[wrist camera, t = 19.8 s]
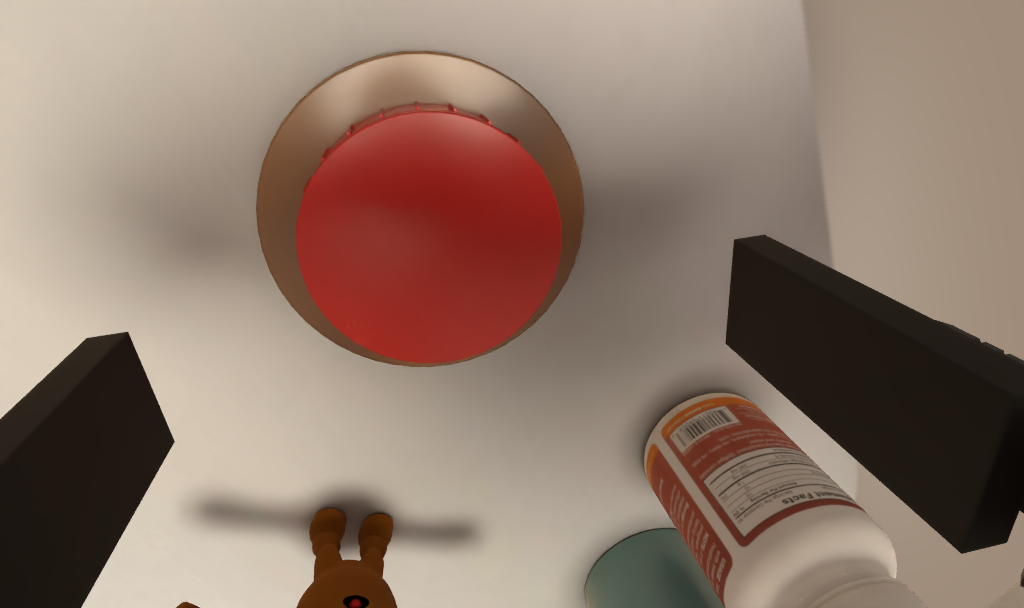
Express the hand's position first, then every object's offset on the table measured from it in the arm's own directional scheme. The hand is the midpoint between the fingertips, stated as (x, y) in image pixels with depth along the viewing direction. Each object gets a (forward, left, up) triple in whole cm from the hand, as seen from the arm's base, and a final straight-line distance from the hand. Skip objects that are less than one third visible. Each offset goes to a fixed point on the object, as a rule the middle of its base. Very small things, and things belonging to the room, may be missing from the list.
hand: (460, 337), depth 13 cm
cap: (0, 0, -6) cm, 6 cm away
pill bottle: (-16, +5, -9) cm, 19 cm away
